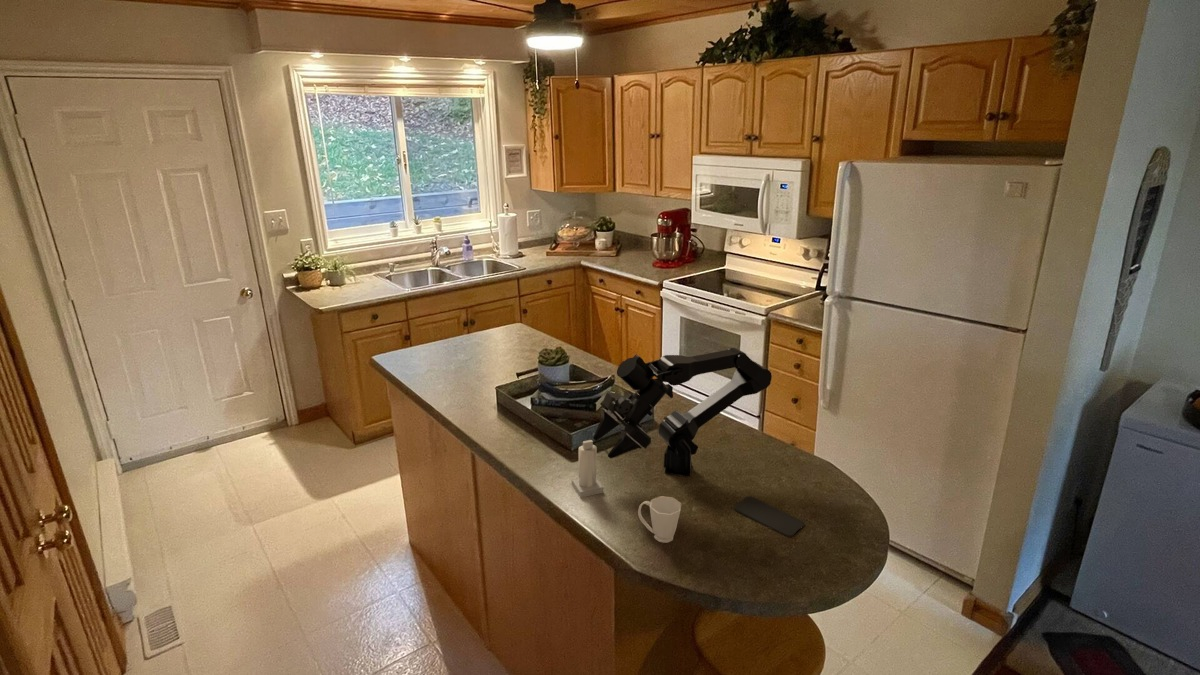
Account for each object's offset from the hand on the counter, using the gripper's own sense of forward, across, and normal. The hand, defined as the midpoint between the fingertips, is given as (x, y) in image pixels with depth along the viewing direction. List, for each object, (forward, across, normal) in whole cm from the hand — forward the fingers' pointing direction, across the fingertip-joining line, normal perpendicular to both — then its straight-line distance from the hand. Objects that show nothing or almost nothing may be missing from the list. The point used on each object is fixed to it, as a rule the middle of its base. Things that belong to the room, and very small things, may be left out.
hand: (601, 448), depth 152 cm
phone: (-14, +26, +30) cm, 42 cm away
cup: (+4, +22, +11) cm, 25 cm away
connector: (+10, 0, +5) cm, 11 cm away
